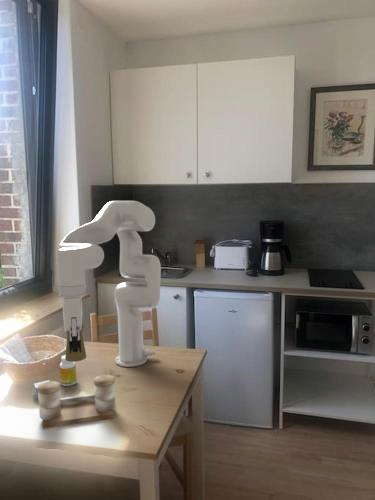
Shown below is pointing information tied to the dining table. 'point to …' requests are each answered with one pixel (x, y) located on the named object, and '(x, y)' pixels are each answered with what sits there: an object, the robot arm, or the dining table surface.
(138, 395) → the dining table surface
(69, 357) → the cork
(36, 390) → the grey rectangular block
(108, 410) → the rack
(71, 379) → the supplement bottle
